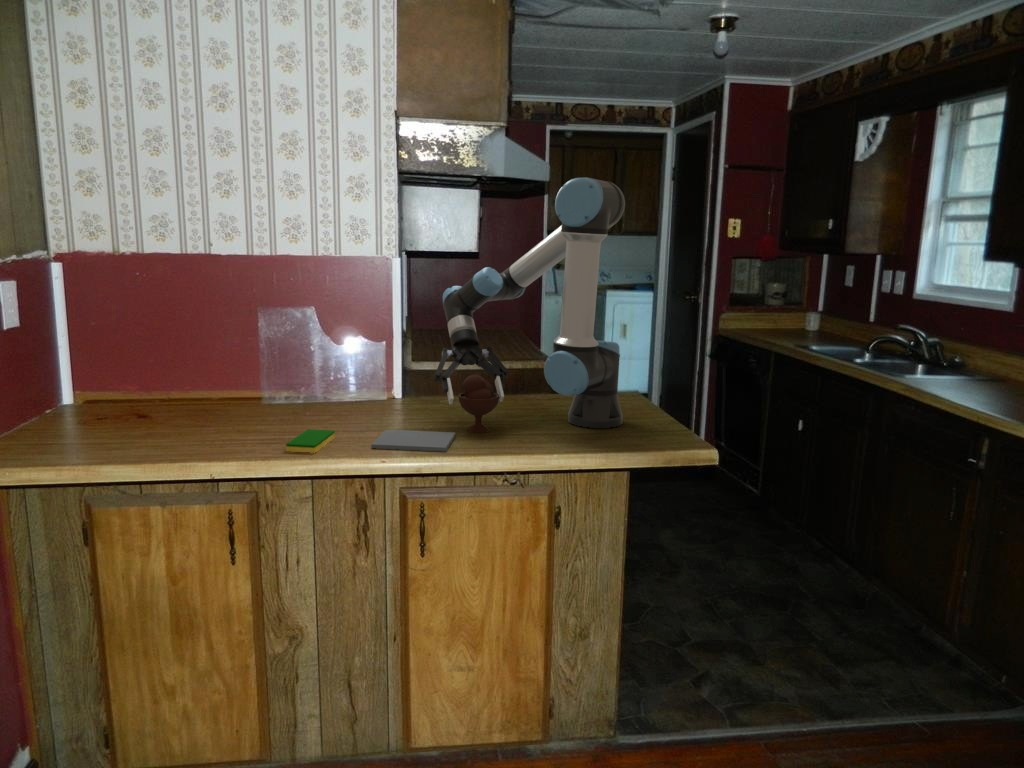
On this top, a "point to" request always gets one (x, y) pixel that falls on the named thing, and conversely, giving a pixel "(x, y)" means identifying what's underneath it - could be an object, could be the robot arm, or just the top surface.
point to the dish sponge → (310, 441)
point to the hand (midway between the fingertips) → (476, 400)
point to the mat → (414, 440)
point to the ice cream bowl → (478, 400)
